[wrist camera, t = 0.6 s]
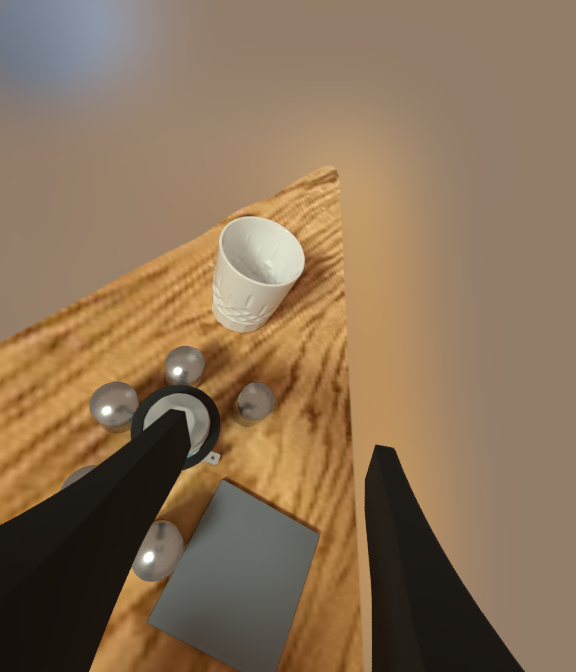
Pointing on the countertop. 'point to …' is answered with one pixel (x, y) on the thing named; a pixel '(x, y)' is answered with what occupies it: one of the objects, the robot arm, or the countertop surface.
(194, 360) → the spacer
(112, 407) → the cylinder
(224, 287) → the white cup
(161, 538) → the cylinder
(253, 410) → the cylinder
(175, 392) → the push button
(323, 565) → the countertop surface
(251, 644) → the mat
